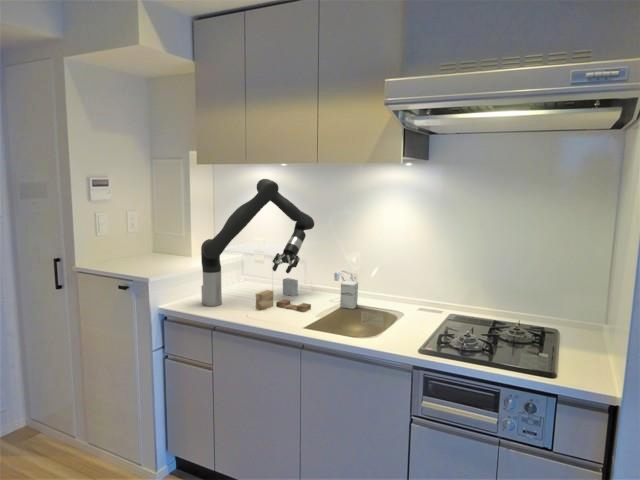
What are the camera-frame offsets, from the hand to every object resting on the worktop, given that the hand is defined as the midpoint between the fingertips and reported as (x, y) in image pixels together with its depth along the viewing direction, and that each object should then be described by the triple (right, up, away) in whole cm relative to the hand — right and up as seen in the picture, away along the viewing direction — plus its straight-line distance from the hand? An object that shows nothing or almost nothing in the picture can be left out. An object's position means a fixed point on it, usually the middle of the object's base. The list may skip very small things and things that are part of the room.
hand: (280, 271), depth 242 cm
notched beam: (+7, -18, -8) cm, 21 cm away
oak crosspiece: (-7, -18, -9) cm, 21 cm away
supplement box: (+35, -18, -4) cm, 40 cm away
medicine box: (+4, -14, +17) cm, 22 cm away
